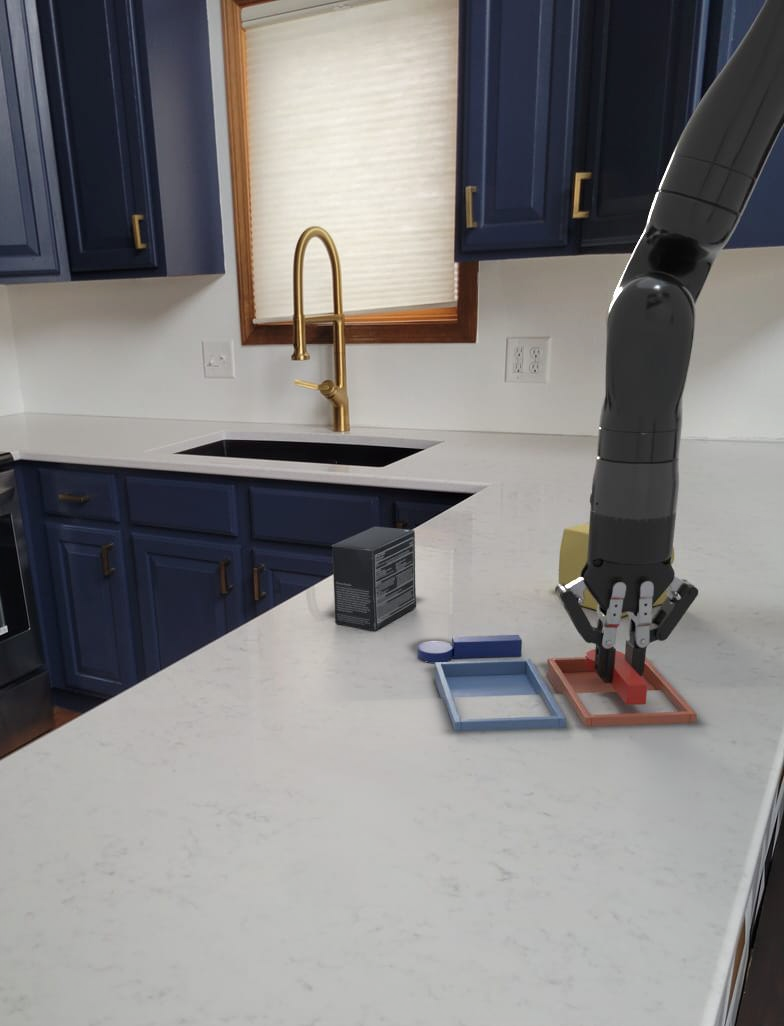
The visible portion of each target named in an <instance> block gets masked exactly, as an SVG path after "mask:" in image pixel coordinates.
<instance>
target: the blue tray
mask: <svg viewBox="0 0 784 1026" xmlns="http://www.w3.org/2000/svg"><path fill="white" fill-rule="evenodd" d="M434 681H435V685H436V688H437V691H438V694H439V697H440V699H444V700H443V701H444V703H445V706H446V709H447V712H448V715H449V719H450V721H451V724H452V727H453V730H454V732H465V731H491V730H493V731H494V730H496V731H497V730H521V729H548V728H549V729H553V728H566V720H567V719H566V717H565V715H564V713H563V711H562V709H561V708H560V706H559V705H558V703H557V701H556V700H555V698H554V697H553V694H552V693H551V691H550V690H549V688H548V686H547V685H546V682H545V681H544V680H543V678H542V676H541V674H540V672H539V670H538V669H537V668H536V666H535V664H534V663H533V661H532V659H531V658H525V659H524V658H523V659H522V658H521V659H520V658H519V659H518V658H517V659H495V660H491V659H490V660H468V661H467V660H464V661H447V662H441V663H440V662H435V663H434ZM538 695H540V697H541V698H542V701H543V702H544V704H545V706H546V708H547V710H548V712H549V713H550V714H551V715H550V716H549V715H547V716H545V715H544V716H518V717H491V718H463V719H461V718H460V714H459V712H458V710H457V706H456V703H455V700H454V699H455V698H456V699H457V698H480V697H481V698H483V697H509V696H511V697H512V696H538Z"/></svg>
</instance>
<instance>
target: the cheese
mask: <svg viewBox="0 0 784 1026" xmlns="http://www.w3.org/2000/svg"><path fill="white" fill-rule="evenodd" d="M589 523H590V521H589V522H586V523H582V524H577V525H574V526H568V527H565V528H564V529H563V531H562V537H561V542H560V549H559V558H558V584H561V583H563V584H565V585H567V584H569V583H571V582H573V581H574V580H576V579H578V578H580V577H581V571H582V569H583V568H584V566H585V564H586V562H587V551H588V537H589ZM674 562H675V547H673V550H672V556H671V565H673V564H674ZM667 589H668V588H667ZM667 589H666V590H665V591H664V592H663V594H662V595H661V596H660V597H659V598H658V599H657V601H656V602H655V603H654V604H653V605H652V607H656V606H659V605H662V604H663V602H664V601H665V600H666V598H667V595H666V591H667ZM584 598H585V599H584V602H583V603H582V604H580V606H581V607H584V608H588V609H592V610H595V611H597V606H598V603H597V602H596V600H595V599H594V598H593V596H592V595H591V593H590V592H589V590H588V589H587V588H586V589H585V590H584ZM625 616H628V612H624V613H621V618H623V617H625Z"/></svg>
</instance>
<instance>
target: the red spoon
mask: <svg viewBox="0 0 784 1026" xmlns="http://www.w3.org/2000/svg"><path fill="white" fill-rule="evenodd" d="M595 650H596V648H594V649H591V650H588V651H587V652H586V653H585V655H584V657H585V666H586V667H587V668H588V669H589V670H592V671H595V669H594V663H595ZM595 672H596V671H595ZM610 684H611V686H612V687H613V688H614V689H615V691H616V692H615V693H617V695H618V696H619V697H620V698H621V700H622V701H623V703H624V704H625V705H627V706H630V705H631V706H633V705H635V706H636V705H646V703H647V693H648V691H647V684H646V683H645V681H644V680H643V679H642V678H641V677H640V676H639V675H638V673H637V672H636V671H635V670H634V669H633V668H632V667H631V666H630V665H629V663H628V662H627V661H626V660H625V653H623V652H622V651H619V650H616V654H615V666H614V670H613V681H612V683H610Z"/></svg>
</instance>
